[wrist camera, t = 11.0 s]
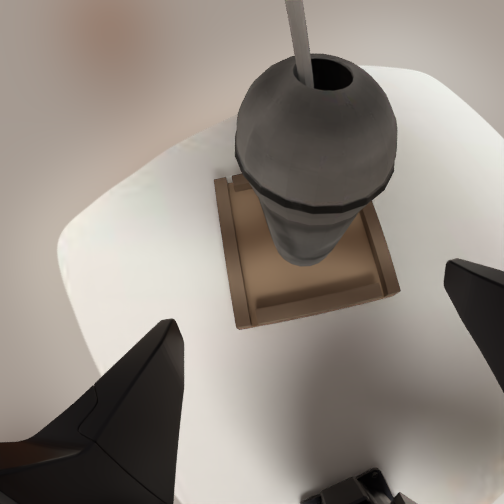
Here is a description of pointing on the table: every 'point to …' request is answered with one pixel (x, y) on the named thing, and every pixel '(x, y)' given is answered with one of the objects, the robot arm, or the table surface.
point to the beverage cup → (314, 146)
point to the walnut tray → (292, 276)
